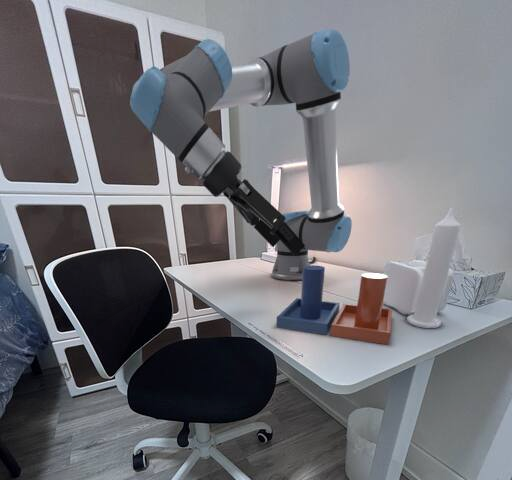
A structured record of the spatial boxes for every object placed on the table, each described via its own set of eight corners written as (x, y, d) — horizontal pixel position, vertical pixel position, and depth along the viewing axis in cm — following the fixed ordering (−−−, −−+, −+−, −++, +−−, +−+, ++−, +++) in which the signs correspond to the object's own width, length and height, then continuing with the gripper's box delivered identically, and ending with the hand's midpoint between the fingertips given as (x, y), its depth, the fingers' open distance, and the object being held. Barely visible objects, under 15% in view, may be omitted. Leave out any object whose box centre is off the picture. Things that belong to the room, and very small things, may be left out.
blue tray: (296, 307, 81) (296, 298, 79) (338, 312, 76) (339, 303, 75) (276, 327, 68) (276, 316, 67) (326, 335, 63) (327, 324, 62)
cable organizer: (375, 300, 85) (382, 259, 80) (408, 297, 87) (416, 258, 82) (408, 318, 72) (419, 271, 67) (446, 315, 73) (459, 268, 68)
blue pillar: (303, 311, 75) (306, 264, 70) (322, 314, 74) (326, 266, 68) (297, 317, 71) (300, 268, 66) (318, 320, 70) (322, 270, 64)
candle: (419, 315, 73) (445, 206, 62) (446, 324, 68) (481, 206, 57) (400, 320, 70) (424, 207, 59) (427, 330, 65) (460, 207, 54)
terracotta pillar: (355, 324, 67) (362, 272, 62) (378, 327, 65) (388, 274, 60) (352, 332, 63) (360, 277, 58) (376, 336, 61) (387, 279, 56)
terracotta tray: (342, 312, 76) (343, 303, 75) (390, 318, 72) (392, 308, 70) (330, 335, 63) (331, 324, 62) (388, 344, 59) (390, 333, 58)
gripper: (194, 185, 65) (259, 251, 75) (209, 176, 43) (298, 270, 53) (216, 158, 64) (279, 228, 74) (243, 134, 42) (326, 238, 52)
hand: (287, 246), depth 64 cm, fingers open, 13 cm apart
